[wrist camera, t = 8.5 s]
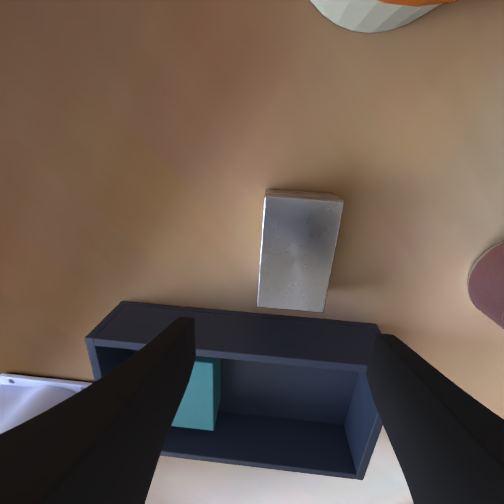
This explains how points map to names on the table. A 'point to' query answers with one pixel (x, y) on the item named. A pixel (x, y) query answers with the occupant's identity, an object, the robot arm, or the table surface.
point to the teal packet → (201, 396)
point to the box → (265, 386)
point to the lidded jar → (375, 13)
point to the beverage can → (489, 283)
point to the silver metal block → (297, 249)
